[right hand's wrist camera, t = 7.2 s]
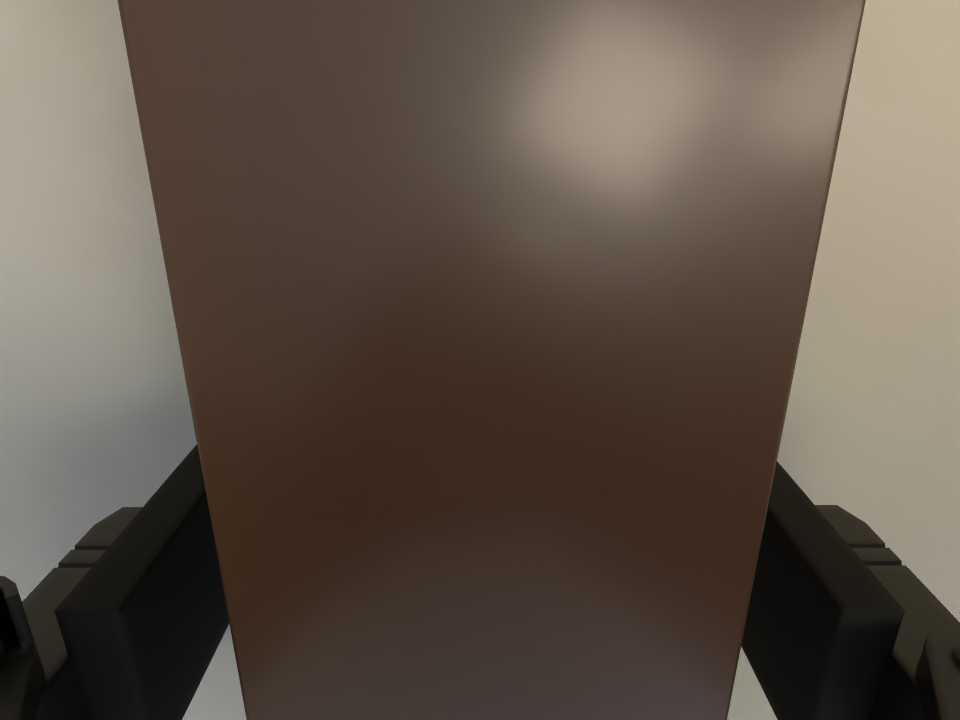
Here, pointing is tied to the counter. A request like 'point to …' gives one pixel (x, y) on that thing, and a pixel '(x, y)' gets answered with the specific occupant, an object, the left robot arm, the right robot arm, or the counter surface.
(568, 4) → the walnut beam
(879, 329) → the counter surface
